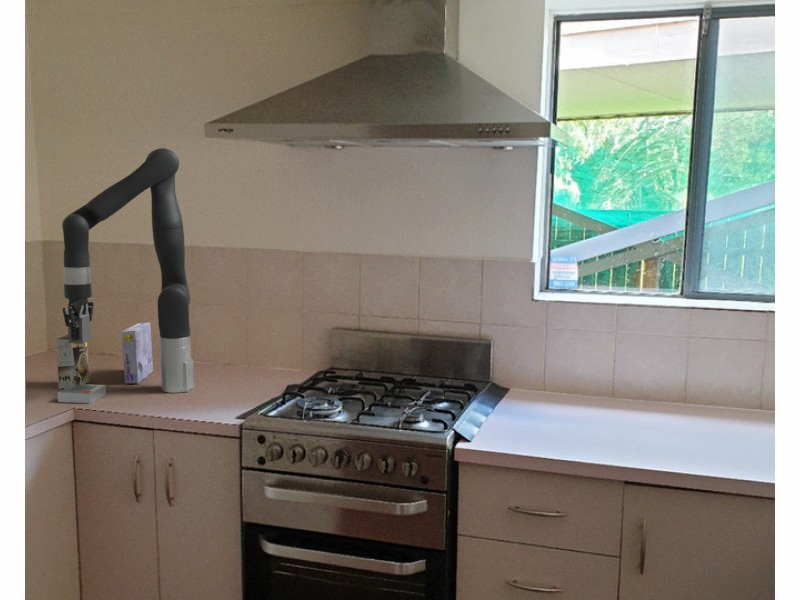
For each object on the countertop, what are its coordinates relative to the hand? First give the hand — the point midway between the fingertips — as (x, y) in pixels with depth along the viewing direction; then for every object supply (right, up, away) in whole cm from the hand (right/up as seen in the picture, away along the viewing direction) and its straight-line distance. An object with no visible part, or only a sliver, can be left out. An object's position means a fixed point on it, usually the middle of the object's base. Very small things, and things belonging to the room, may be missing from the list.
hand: (79, 338), depth 231 cm
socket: (0, -18, +2) cm, 18 cm away
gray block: (0, -3, 0) cm, 2 cm away
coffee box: (-9, -16, +17) cm, 25 cm away
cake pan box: (+8, -15, +28) cm, 33 cm away
